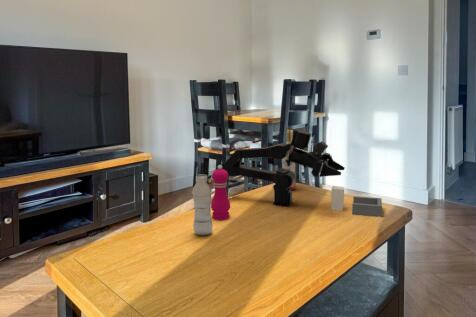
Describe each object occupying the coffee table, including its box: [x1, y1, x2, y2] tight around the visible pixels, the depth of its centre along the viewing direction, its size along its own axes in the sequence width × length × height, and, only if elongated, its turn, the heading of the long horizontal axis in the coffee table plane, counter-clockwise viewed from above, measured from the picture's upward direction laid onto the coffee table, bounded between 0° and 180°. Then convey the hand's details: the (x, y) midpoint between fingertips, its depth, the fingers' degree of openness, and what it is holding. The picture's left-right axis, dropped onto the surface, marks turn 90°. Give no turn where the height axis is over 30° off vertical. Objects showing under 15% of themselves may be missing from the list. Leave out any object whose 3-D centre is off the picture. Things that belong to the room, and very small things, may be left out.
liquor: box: [281, 129, 298, 191], centre depth 181 cm, size 7×7×28 cm
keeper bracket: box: [351, 195, 383, 217], centre depth 152 cm, size 10×11×4 cm
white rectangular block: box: [330, 185, 345, 212], centre depth 155 cm, size 4×4×8 cm
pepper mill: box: [210, 164, 231, 221], centre depth 145 cm, size 7×7×20 cm
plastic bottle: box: [191, 173, 214, 236], centre depth 129 cm, size 6×7×20 cm
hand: (342, 171), depth 151 cm, fingers open, 9 cm apart
